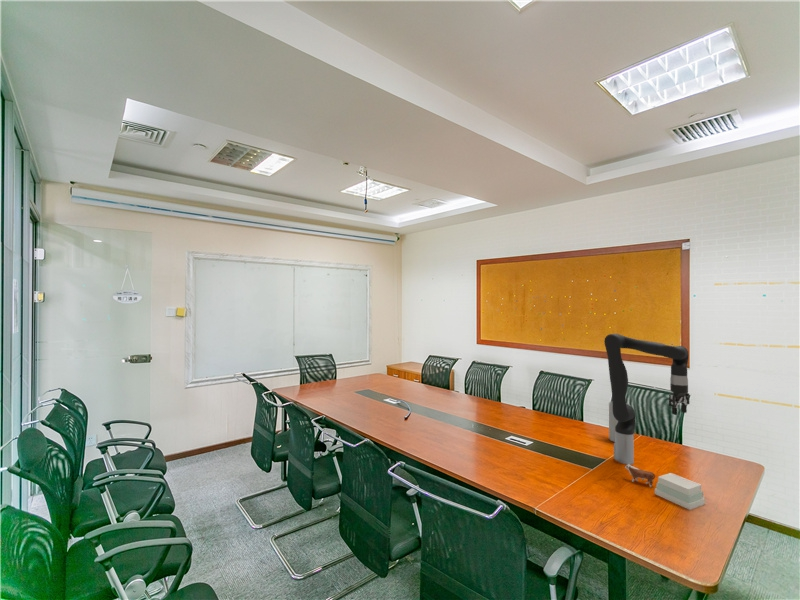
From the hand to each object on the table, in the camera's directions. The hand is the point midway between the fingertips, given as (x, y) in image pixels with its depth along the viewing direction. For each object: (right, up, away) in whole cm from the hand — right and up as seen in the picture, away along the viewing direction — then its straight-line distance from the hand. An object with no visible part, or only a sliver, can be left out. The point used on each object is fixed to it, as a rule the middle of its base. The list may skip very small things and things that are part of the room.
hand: (679, 413), depth 194 cm
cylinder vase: (-1, -35, +51) cm, 62 cm away
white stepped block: (-17, -34, -22) cm, 44 cm away
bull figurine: (-26, -34, -6) cm, 43 cm away
